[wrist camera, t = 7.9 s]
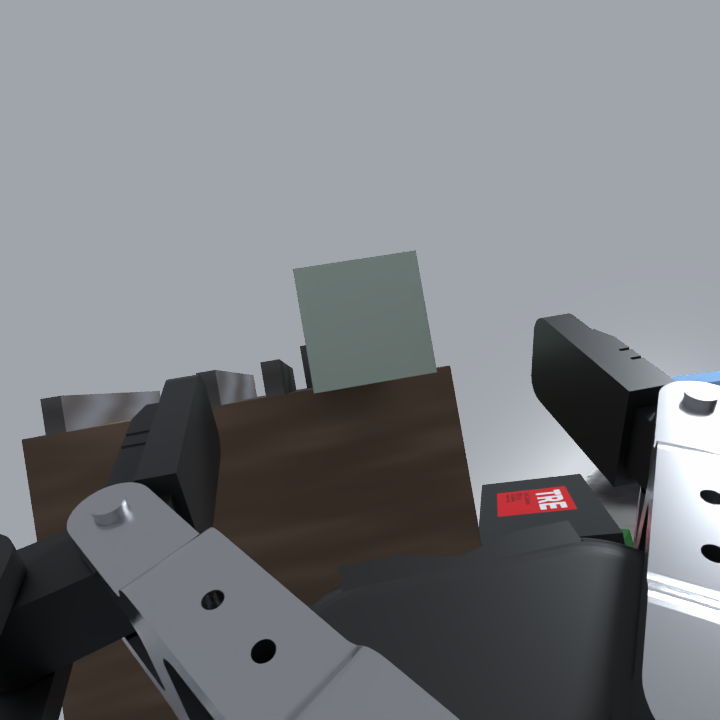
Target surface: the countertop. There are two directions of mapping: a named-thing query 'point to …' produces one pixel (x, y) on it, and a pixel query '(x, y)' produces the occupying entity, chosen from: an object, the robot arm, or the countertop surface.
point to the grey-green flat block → (363, 322)
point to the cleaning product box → (544, 508)
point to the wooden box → (274, 490)
